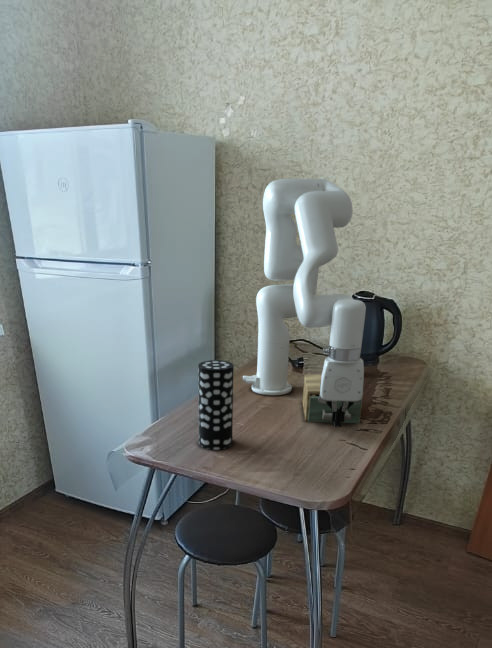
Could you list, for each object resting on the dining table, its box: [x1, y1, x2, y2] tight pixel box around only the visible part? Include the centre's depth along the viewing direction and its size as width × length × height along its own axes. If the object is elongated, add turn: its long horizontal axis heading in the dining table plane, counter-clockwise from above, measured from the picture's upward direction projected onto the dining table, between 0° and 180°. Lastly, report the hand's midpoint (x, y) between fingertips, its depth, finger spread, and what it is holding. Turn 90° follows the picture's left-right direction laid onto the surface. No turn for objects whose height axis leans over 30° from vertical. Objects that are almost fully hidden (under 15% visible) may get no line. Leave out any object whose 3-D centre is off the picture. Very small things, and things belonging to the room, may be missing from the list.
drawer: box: [307, 394, 363, 424], centre depth 156 cm, size 20×13×7 cm
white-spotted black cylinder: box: [197, 359, 234, 451], centre depth 140 cm, size 8×8×20 cm
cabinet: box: [302, 373, 364, 424], centre depth 162 cm, size 16×15×9 cm
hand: (337, 424), depth 147 cm, fingers closed
